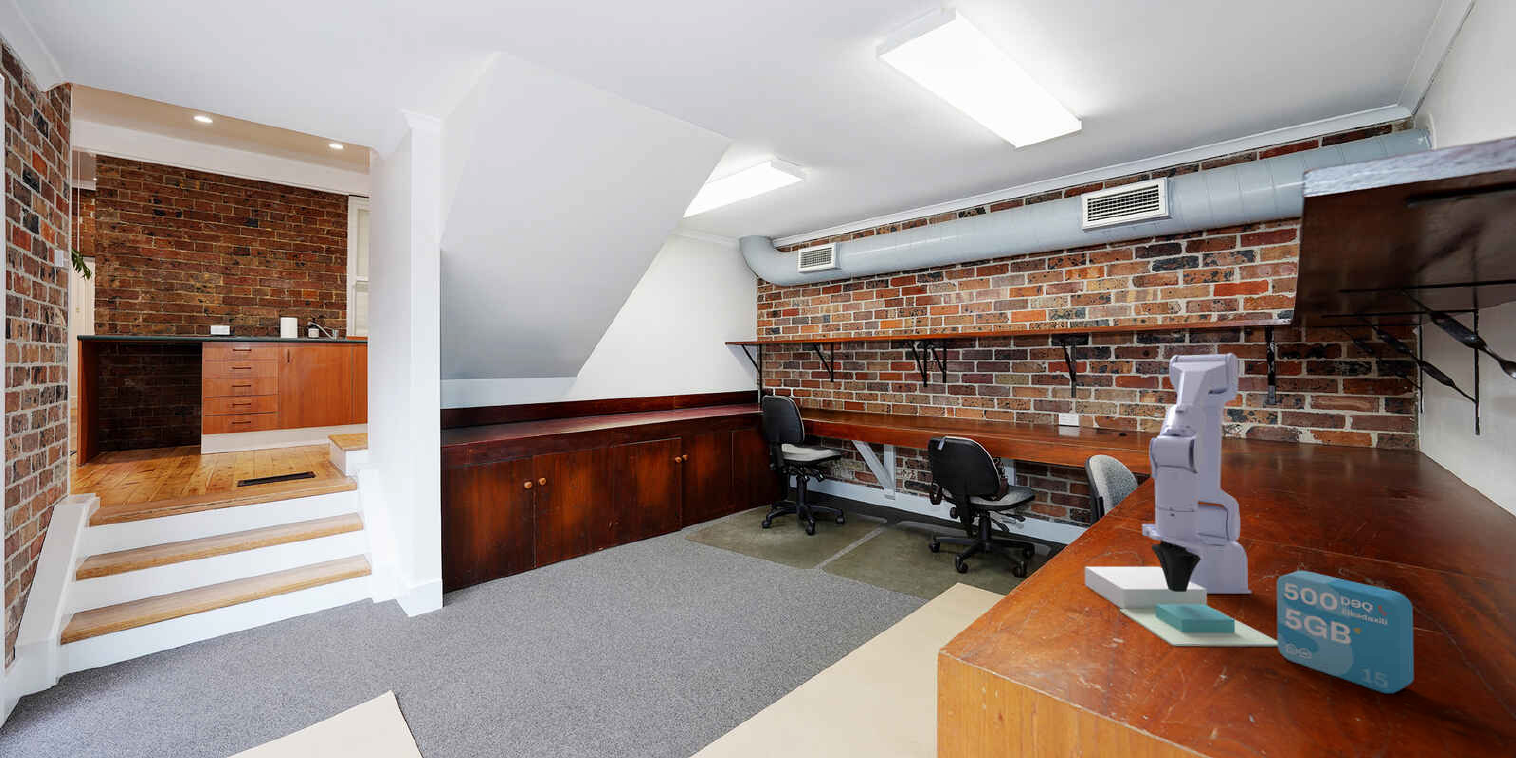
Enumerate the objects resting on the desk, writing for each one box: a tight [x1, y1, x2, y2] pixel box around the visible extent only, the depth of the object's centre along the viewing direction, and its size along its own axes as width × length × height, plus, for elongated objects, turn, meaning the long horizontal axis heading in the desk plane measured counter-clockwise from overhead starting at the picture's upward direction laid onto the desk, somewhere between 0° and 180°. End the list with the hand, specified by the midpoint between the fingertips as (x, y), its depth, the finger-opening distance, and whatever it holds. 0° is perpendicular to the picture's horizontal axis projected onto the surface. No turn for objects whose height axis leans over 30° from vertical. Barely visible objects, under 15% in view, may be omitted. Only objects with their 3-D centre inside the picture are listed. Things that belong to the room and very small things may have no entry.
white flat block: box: [1084, 566, 1208, 609], centre depth 104 cm, size 14×12×4 cm
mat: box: [1119, 608, 1278, 647], centre depth 90 cm, size 16×13×1 cm
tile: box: [1156, 604, 1236, 633], centre depth 91 cm, size 8×6×2 cm
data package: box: [1276, 570, 1415, 694], centre depth 76 cm, size 12×4×12 cm, turn 26°
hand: (1177, 590), depth 95 cm, fingers closed
